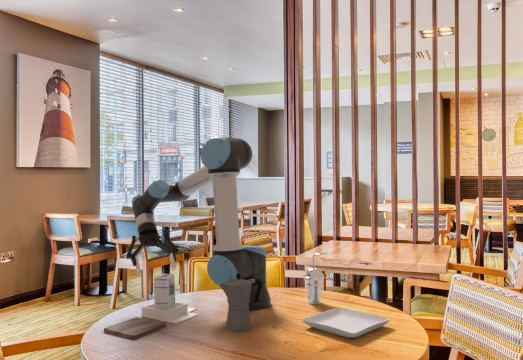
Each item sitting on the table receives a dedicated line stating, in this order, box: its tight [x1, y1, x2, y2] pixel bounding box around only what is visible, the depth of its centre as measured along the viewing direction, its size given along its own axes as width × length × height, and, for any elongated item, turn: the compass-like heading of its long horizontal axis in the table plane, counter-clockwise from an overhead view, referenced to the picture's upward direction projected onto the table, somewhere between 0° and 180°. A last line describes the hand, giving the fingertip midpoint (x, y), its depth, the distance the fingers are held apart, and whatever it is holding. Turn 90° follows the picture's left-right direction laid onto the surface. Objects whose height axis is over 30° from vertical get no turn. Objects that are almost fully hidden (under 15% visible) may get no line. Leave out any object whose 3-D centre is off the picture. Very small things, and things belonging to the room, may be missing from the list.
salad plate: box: [302, 306, 390, 339], centre depth 156 cm, size 21×21×3 cm
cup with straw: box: [302, 252, 328, 305], centre depth 186 cm, size 8×9×20 cm
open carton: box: [141, 301, 199, 325], centre depth 173 cm, size 17×17×4 cm
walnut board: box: [103, 316, 167, 340], centre depth 156 cm, size 14×14×1 cm
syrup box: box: [153, 273, 176, 311], centre depth 172 cm, size 6×6×14 cm
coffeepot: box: [218, 273, 263, 333], centre depth 157 cm, size 15×9×18 cm, turn 115°
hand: (157, 270), depth 179 cm, fingers open, 13 cm apart
